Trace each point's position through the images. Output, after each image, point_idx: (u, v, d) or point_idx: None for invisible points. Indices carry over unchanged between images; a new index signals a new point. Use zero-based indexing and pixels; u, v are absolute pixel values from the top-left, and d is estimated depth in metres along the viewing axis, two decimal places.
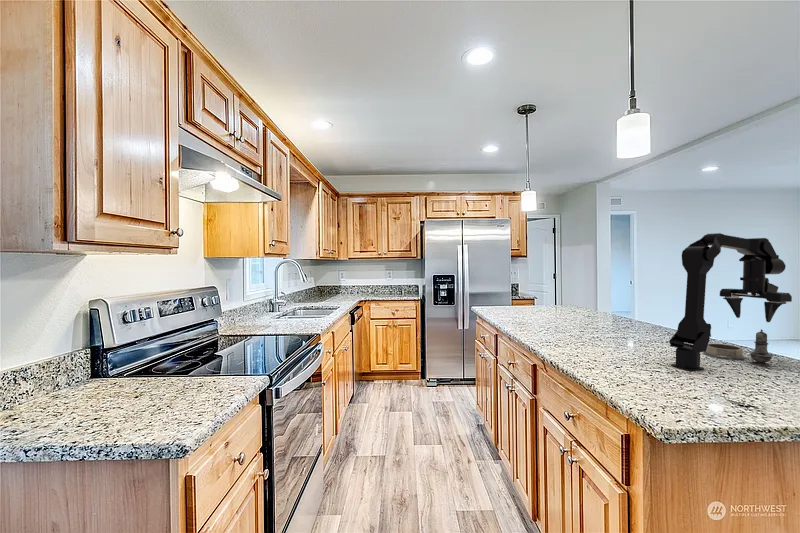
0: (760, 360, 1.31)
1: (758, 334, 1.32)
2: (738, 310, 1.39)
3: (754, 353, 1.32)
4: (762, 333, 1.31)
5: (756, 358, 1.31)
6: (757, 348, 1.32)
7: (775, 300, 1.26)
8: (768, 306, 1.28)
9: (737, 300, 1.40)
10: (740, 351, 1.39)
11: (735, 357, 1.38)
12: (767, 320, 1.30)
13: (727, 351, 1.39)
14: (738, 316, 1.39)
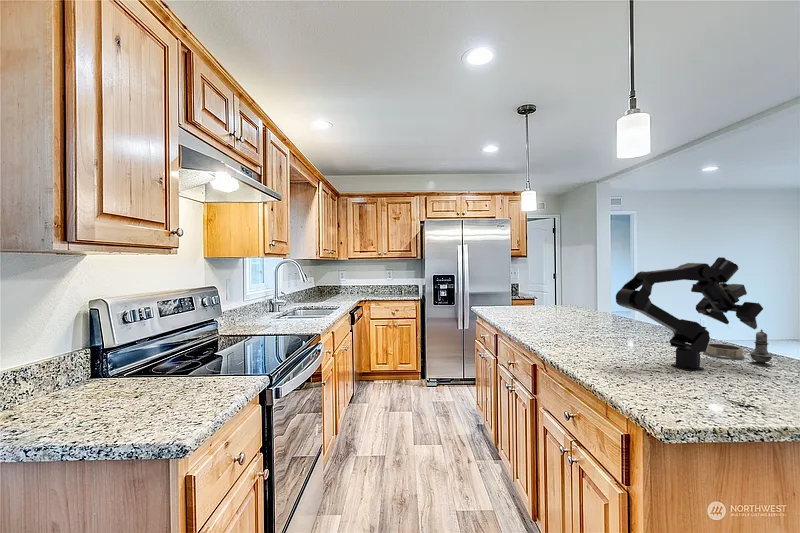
0: (760, 360, 1.31)
1: (758, 334, 1.32)
2: (724, 318, 1.35)
3: (754, 353, 1.32)
4: (762, 333, 1.31)
5: (756, 358, 1.31)
6: (757, 348, 1.32)
7: (747, 320, 1.21)
8: (745, 322, 1.24)
9: (716, 310, 1.35)
10: (740, 351, 1.39)
11: (735, 357, 1.38)
12: (754, 328, 1.26)
13: (727, 351, 1.39)
14: (727, 322, 1.35)
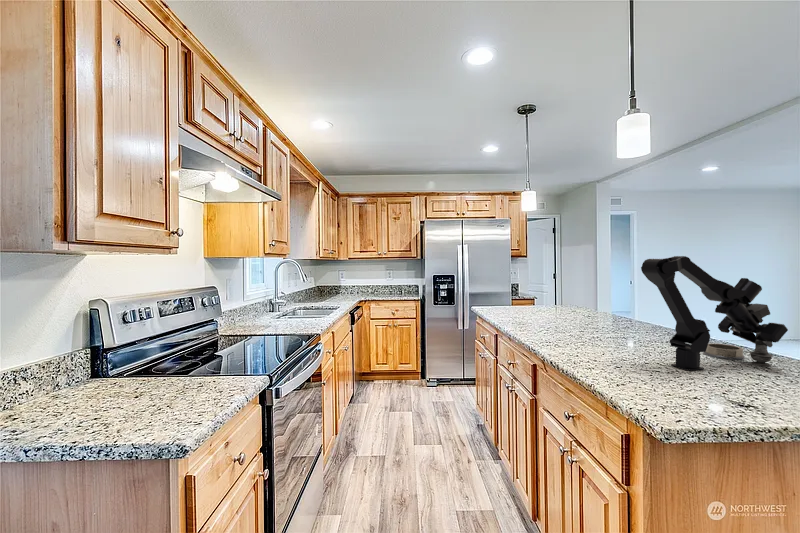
0: (760, 360, 1.31)
1: None
2: (754, 338, 1.34)
3: (754, 353, 1.32)
4: None
5: (756, 358, 1.31)
6: (757, 348, 1.32)
7: (772, 341, 1.23)
8: (761, 341, 1.28)
9: None
10: (740, 351, 1.39)
11: (735, 357, 1.38)
12: (769, 346, 1.30)
13: (727, 351, 1.39)
14: None
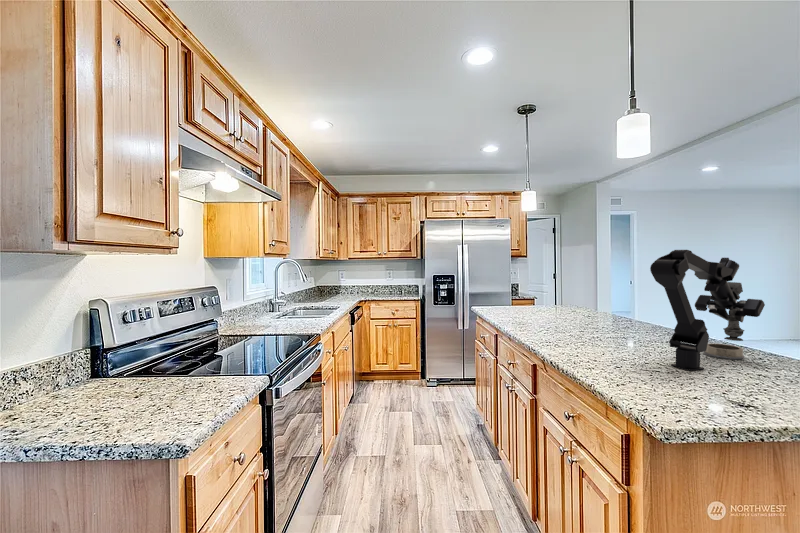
0: (735, 335, 1.39)
1: (732, 311, 1.40)
2: (726, 315, 1.42)
3: (729, 329, 1.40)
4: (735, 309, 1.40)
5: (732, 333, 1.39)
6: (731, 324, 1.40)
7: (754, 316, 1.30)
8: (739, 317, 1.36)
9: None
10: (740, 351, 1.39)
11: (735, 357, 1.38)
12: (741, 321, 1.39)
13: (727, 351, 1.39)
14: None
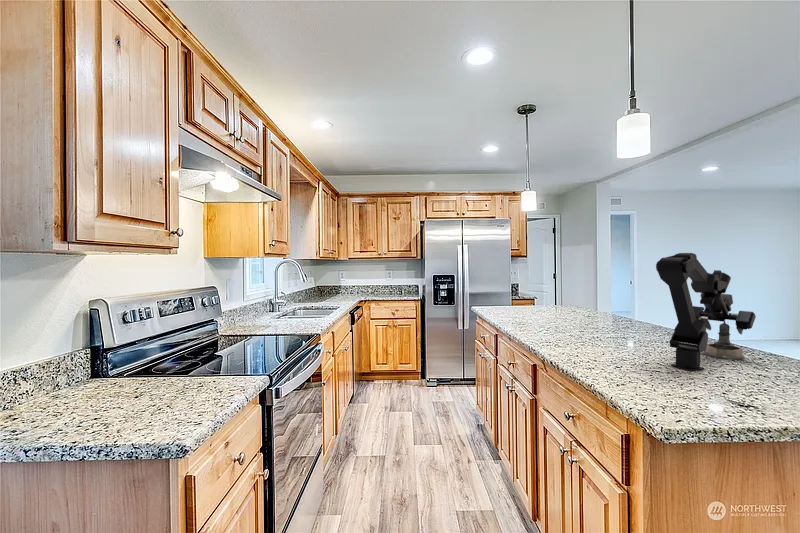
0: None
1: (723, 326, 1.43)
2: (709, 324, 1.47)
3: (720, 343, 1.42)
4: (726, 324, 1.42)
5: (723, 348, 1.42)
6: (722, 339, 1.43)
7: (747, 328, 1.33)
8: (740, 329, 1.36)
9: (704, 318, 1.46)
10: (740, 351, 1.39)
11: (735, 357, 1.38)
12: (741, 333, 1.40)
13: (727, 351, 1.39)
14: (710, 328, 1.48)
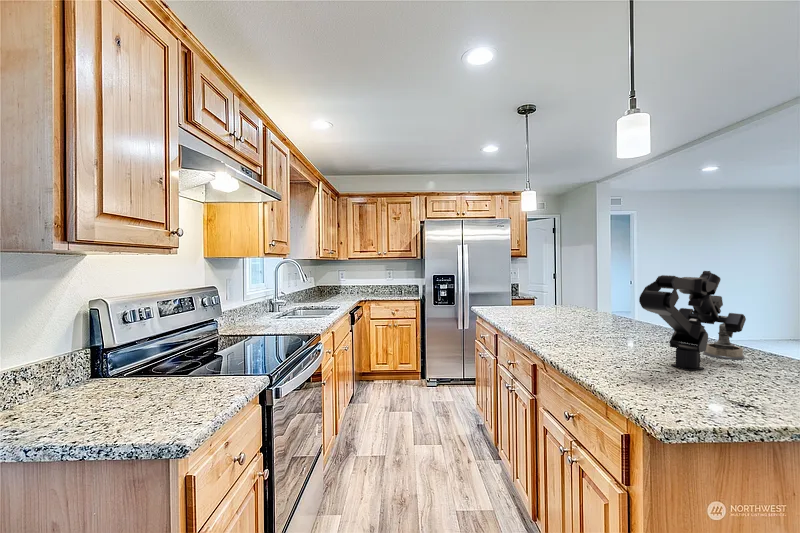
0: None
1: (723, 326, 1.43)
2: None
3: (720, 343, 1.42)
4: None
5: (723, 348, 1.42)
6: (722, 339, 1.43)
7: (737, 330, 1.28)
8: (730, 332, 1.31)
9: None
10: (740, 351, 1.39)
11: (735, 357, 1.38)
12: (731, 337, 1.35)
13: (727, 351, 1.39)
14: None
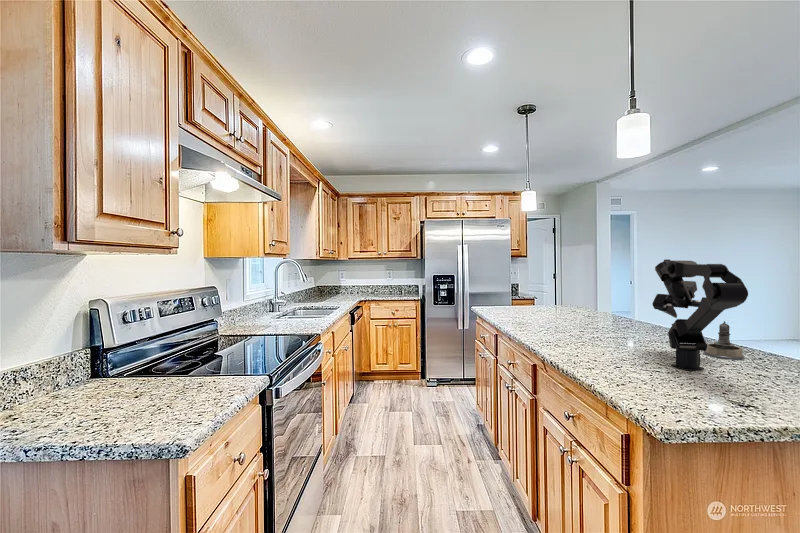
0: None
1: (723, 326, 1.43)
2: (674, 312, 1.47)
3: (720, 343, 1.42)
4: (726, 324, 1.42)
5: (723, 348, 1.42)
6: (722, 339, 1.43)
7: None
8: None
9: (669, 306, 1.46)
10: (740, 351, 1.39)
11: (735, 357, 1.38)
12: None
13: (727, 351, 1.39)
14: (676, 316, 1.47)
